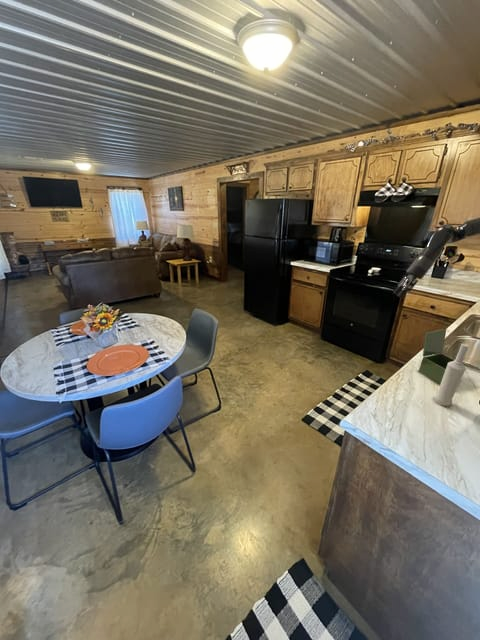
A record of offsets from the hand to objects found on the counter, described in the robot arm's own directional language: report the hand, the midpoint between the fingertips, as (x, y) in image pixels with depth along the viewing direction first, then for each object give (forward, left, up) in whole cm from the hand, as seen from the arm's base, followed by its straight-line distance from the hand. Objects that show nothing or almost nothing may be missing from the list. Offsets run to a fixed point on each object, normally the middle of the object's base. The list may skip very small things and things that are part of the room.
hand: (397, 295), depth 130 cm
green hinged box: (+10, +28, -27) cm, 41 cm away
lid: (+8, +23, -14) cm, 28 cm away
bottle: (+28, +35, -28) cm, 53 cm away
